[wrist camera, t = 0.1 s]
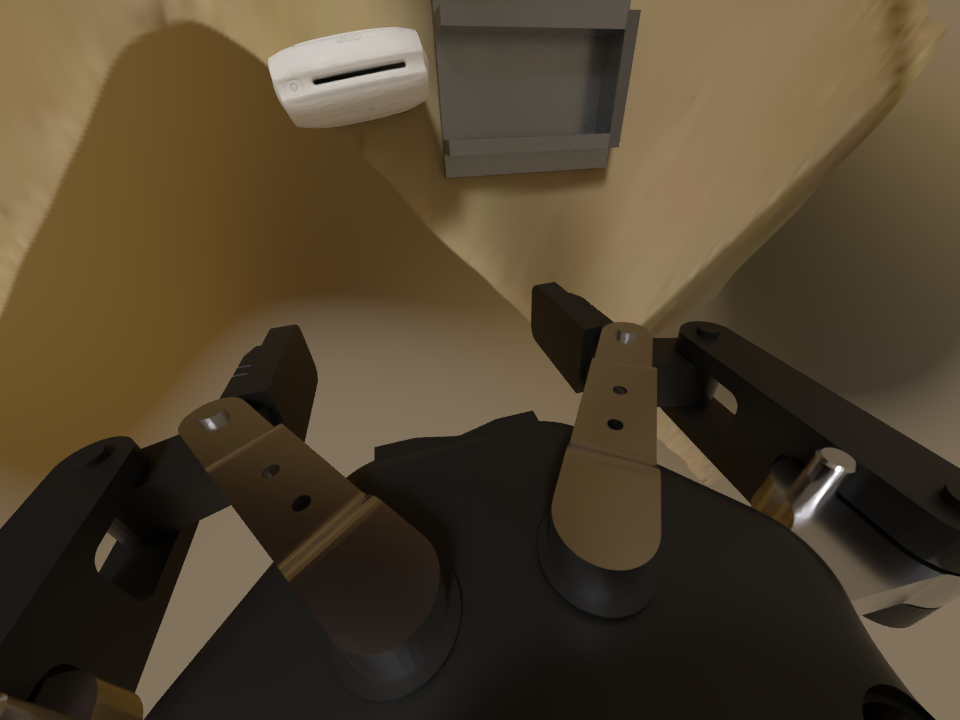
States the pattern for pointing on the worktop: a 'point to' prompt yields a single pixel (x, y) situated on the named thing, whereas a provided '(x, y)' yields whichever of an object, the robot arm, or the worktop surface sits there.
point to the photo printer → (351, 77)
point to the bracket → (531, 82)
